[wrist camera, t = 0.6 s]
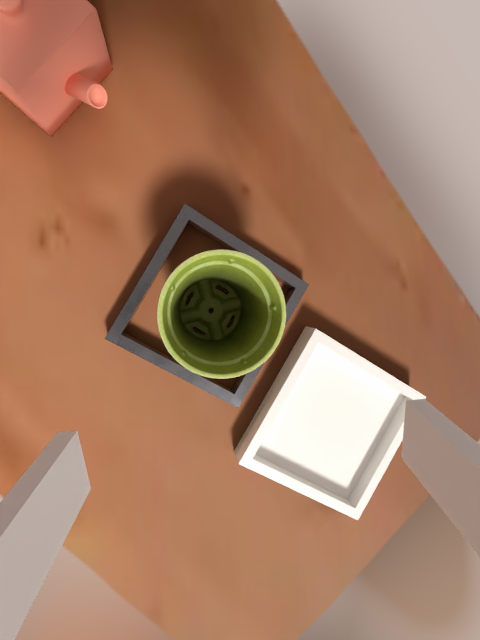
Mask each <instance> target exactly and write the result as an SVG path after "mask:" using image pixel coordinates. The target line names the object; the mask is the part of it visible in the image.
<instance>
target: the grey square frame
mask: <svg viewBox="0 0 480 640" xmlns="http://www.w3.org/2000/svg"><path fill="white" fill-rule="evenodd" d="M188 223H189V224H191V225H192V226H194V227H196V228H197V229H199V230H200V231H202V232H203V233H205V234H207V235H208V236H210V237H211V238H213V239H214V240H216V241H217V242H219V243H221V244H222V245H224V246H225V247H227V248H228V249H230V250H233V251H238V252H241V253H244V254H247V255H249V256H251V257H253V258H255V259H256V260H258V261H259V262H261V263H262V264H263V265H265V266H266V267H267V268H268V269H269V270H270V271H271V273H272V274H273V275H274V276H275V278H276V279H277V280H278V281H280V282H282V283H283V284H285V285H286V286H288V287H289V288H290V290H289V292H288V293H287V295H286V297H285V305H286V322H285V325H286V324H287V322H288V320H289V318H290V317H291V315H292V313H293V312H294V310H295V308H296V306H297V305H298V303H299V301H300V299H301V298H302V296H303V294H304V292H305V291H306V289H307V287H308V285H309V284H307V283H306V282H304V281H303V280H301V279H300V278H298V277H297V276H295V275H294V274H292V273H291V272H289V271H288V270H286V269H285V268H283V267H281V266H280V265H278V264H277V263H275V262H274V261H272V260H271V259H269V258H268V257H266V256H265V255H263V254H262V253H260V252H258V251H257V250H255V249H254V248H252V247H251V246H249V245H248V244H246V243H245V242H243V241H242V240H240V239H239V238H237V237H235V236H234V235H232V234H231V233H229V232H228V231H226V230H225V229H223V228H222V227H220V226H219V225H217V224H216V223H214V222H213V221H211V220H209V219H208V218H206V217H205V216H203V215H202V214H200V213H199V212H197V211H196V210H194V209H193V208H191V207H190V206H188V205H186V204H184V206H183V208H182V209H181V211H180V213H179V214H178V216H177V218H176V219H175V221H174V223H173V224H172V226H171V228H170V229H169V231H168V233H167V235H166V236H165V238H164V240H163V241H162V243H161V245H160V246H159V248H158V250H157V251H156V253H155V255H154V256H153V258H152V260H151V261H150V263H149V265H148V267H147V268H146V270H145V272H144V273H143V275H142V277H141V278H140V280H139V282H138V283H137V285H136V287H135V288H134V290H133V292H132V293H131V295H130V297H129V299H128V300H127V302H126V304H125V305H124V307H123V309H122V310H121V312H120V314H119V315H118V317H117V319H116V320H115V322H114V324H113V326H112V327H111V329H110V331H109V332H108V334H107V336H106V337H105V339H106V340H108V341H110V342H112V343H114V344H116V345H118V346H120V347H122V348H124V349H126V350H128V351H129V352H131V353H133V354H135V355H137V356H139V357H141V358H143V359H145V360H147V361H149V362H151V363H153V364H155V365H156V366H158V367H160V368H162V369H164V370H166V371H168V372H170V373H172V374H174V375H176V376H178V377H180V378H182V379H184V380H185V381H187V382H189V383H191V384H193V385H195V386H197V387H199V388H201V389H203V390H205V391H207V392H209V393H211V394H212V395H214V396H216V397H218V398H220V399H222V400H224V401H226V402H228V403H230V404H232V405H234V406H236V407H239V406H240V404H241V402H242V400H243V399H244V397H245V395H246V393H247V392H248V390H249V388H250V386H251V385H252V383H253V381H254V379H255V378H256V376H257V374H258V372H259V371H260V369H261V367H262V365H263V364H264V363H263V364H261V365H260V366H259V367H257V368H256V369H254V370H253V371H251V372H249V373H247V374H244V375H241V376H240V377H239V378H238V380H237V382H236V384H235V385H234V387H233V389H232V390H231V389H229V388H228V387H226V386H224V385H222V384H220V383H218V382H216V381H214V380H212V379H211V378H208V377H204V376H201V375H198V374H196V373H193V372H191V371H190V370H188V369H186V368H185V367H183V366H182V365H181V364H180V363H178V362H177V361H176V360H175V359H173V358H171V357H169V356H167V355H165V354H163V353H162V352H160V351H158V350H156V349H154V348H152V347H150V346H148V345H146V344H145V343H143V342H141V341H139V340H137V339H135V338H133V337H131V336H129V335H128V334H126V333H124V331H125V329H126V327H127V326H128V324H129V322H130V321H131V319H132V317H133V315H134V314H135V312H136V310H137V309H138V307H139V305H140V304H141V302H142V300H143V299H144V297H145V295H146V294H147V292H148V290H149V288H150V287H151V285H152V283H153V282H154V280H155V278H156V277H157V275H158V273H159V272H160V270H161V268H162V266H163V265H164V263H165V261H166V260H167V258H168V256H169V255H170V253H171V251H172V250H173V248H174V246H175V245H176V243H177V241H178V239H179V238H180V236H181V234H182V233H183V231H184V229H185V228H186V226H187V224H188Z"/></svg>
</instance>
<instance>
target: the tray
mask: <svg viewBox="0 0 480 640" xmlns="http://www.w3.org/2000/svg"><path fill="white" fill-rule="evenodd" d="M425 398H426V396H424V395H422V394H421V393H419V392H418V391H416V390H414V389H413V388H411V387H409V386H408V385H406V384H405V383H403V382H401V381H400V380H398V379H397V378H395V377H393V376H392V375H390V374H388V373H387V372H385V371H384V370H382V369H380V368H379V367H377V366H376V365H374V364H372V363H371V362H369V361H368V360H366V359H364V358H363V357H361V356H359V355H358V354H356V353H355V352H353V351H351V350H350V349H348V348H347V347H345V346H343V345H342V344H340V343H338V342H337V341H335V340H334V339H332V338H330V337H329V336H327V335H326V334H324V333H322V332H321V331H319V330H317V329H316V328H312V327H308V326H305V328H304V330H303V331H302V333H301V335H300V337H299V338H298V340H297V342H296V344H295V345H294V347H293V349H292V351H291V352H290V354H289V356H288V358H287V359H286V361H285V363H284V365H283V366H282V368H281V370H280V372H279V373H278V375H277V377H276V379H275V380H274V382H273V384H272V386H271V387H270V389H269V391H268V393H267V394H266V396H265V398H264V400H263V401H262V403H261V405H260V407H259V408H258V410H257V412H256V413H255V415H254V417H253V419H252V420H251V422H250V424H249V426H248V427H247V429H246V431H245V433H244V434H243V436H242V438H241V440H240V441H239V443H238V445H237V447H236V448H235V450H234V453H235V455H236V458H237V461H238V463H239V464H240V465H242V466H244V467H246V468H249V469H251V470H253V471H255V472H257V473H259V474H261V475H263V476H265V477H268V478H270V479H272V480H274V481H276V482H278V483H280V484H282V485H284V486H287V487H289V488H291V489H293V490H295V491H297V492H299V493H301V494H303V495H306V496H308V497H310V498H312V499H314V500H316V501H318V502H320V503H322V504H325V505H327V506H329V507H331V508H333V509H335V510H337V511H339V512H341V513H344V514H346V515H348V516H350V517H352V518H354V519H356V520H358V519H359V517H360V516H361V514H362V512H363V510H364V508H365V507H366V505H367V503H368V501H369V499H370V498H371V496H372V494H373V492H374V490H375V488H376V487H377V485H378V483H379V481H380V479H381V478H382V476H383V474H384V472H385V470H386V469H387V467H388V465H389V463H390V461H391V460H392V458H393V456H394V454H395V452H396V451H397V449H398V447H399V445H400V443H401V442H402V440H403V430H404V418H405V405H406V400H417V399H425Z"/></svg>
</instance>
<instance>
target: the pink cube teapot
mask: <svg viewBox="0 0 480 640" xmlns="http://www.w3.org/2000/svg"><path fill="white" fill-rule="evenodd" d="M112 70H113V68H112V64H111V61H110V57H109V53H108V50H107V46H106V42H105V39H104V35H103V31H102V28H101V24H100V20H99V17H98V13H97V9H96V8H95V7H94V6H93V5H92V4H91V3H90V2H89V1H88V0H0V93H1V94H2V95H3V96H5V97H6V98H7V99H8V100H9V101H10V102H12V103H13V104H14V105H15V106H16V107H17V108H18V109H20V110H21V111H22V112H23V113H24V114H25V115H27V116H28V117H29V118H30V119H31V120H32V121H34V122H35V123H36V124H37V125H38V126H39V127H41V128H42V129H43V130H44V131H45V132H46V133H47V134H49V135H50V136H52V135H53V134H54V133H55V132H56V131H57V130H58V129H59V128H60V127H61V125H62V124H63V123H64V122H65V121H66V120H67V119H68V118H69V117H70V116H71V115H72V114H73V112H74V111H75V110H76V109H77V108H78V107H79V106H80V105H81V104H82V103H83V102H85V103H87V104H89V105H91V106H93V107H95V108H98V109H101V108H103V107H104V106H105V105H106V103H107V99H108V97H107V93H106V90H105V89H104V88H103V87H102V86H101V85H99V84H100V83H101V82H102V81H103V80H104V78H105V77H106V76H107V75H108V74H109V73H110V72H111V71H112Z"/></svg>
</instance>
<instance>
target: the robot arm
mask: <svg viewBox="0 0 480 640" xmlns="http://www.w3.org/2000/svg"><path fill="white" fill-rule="evenodd" d="M401 458H402V460H403V461H404V462H405V463H406V465H407V466H408V467H409V468H410V470H411V471H412V472H413V473H414V475H415V476H416V477H417V478H418V480H419V481H420V482H421V483H422V485H423V486H424V487H425V489H426V490H427V491H428V492H429V494H430V495H431V496H432V497H433V499H434V500H435V501H436V502H437V504H438V505H439V506H440V507H441V509H442V510H443V511H444V512H445V514H446V515H447V516H448V518H449V519H450V520H451V521H452V522H453V524H454V525H455V526H456V528H457V529H458V530H459V531H460V533H461V534H462V535H463V536H464V538H465V539H466V540H467V541H468V543H469V544H470V545H471V546H472V548H473V549H474V550H475V552H476V553H477V554H478V555H479V556H480V445H479V444H478V443H477V442H476V441H475V440H474V439H472V438H471V437H470V436H469V435H468V434H466V433H465V432H464V431H463V430H461V429H460V428H459V427H458V426H457V425H455V424H454V423H453V422H452V421H451V420H449V419H448V418H447V417H446V416H445V415H443V414H442V413H441V412H440V411H438V410H437V409H436V408H435V407H434V406H432V405H431V404H430V403H429V402H428V401H426V400H425V399H417V400H406V405H405V418H404V430H403V443H402V456H401ZM90 489H91V487H90V483H89V478H88V474H87V470H86V466H85V462H84V457H83V453H82V449H81V445H80V441H79V436H78V432H77V431H70V432H60V433H57V434H56V435H55V436H54V437H53V439H52V440H51V441H50V442H49V443H48V445H47V446H46V447H45V448H44V450H43V451H42V452H41V453H40V454H39V456H38V457H37V458H36V459H35V461H34V462H33V463H32V464H31V466H30V467H29V468H28V469H27V470H26V472H25V473H24V474H23V475H22V477H21V478H20V479H19V480H18V481H17V483H16V484H15V485H14V486H13V488H12V489H11V490H10V491H9V493H8V494H7V495H6V496H5V497H4V499H3V500H2V501H1V502H0V640H14V639H15V637H16V635H17V633H18V631H19V629H20V628H21V626H22V623H23V621H24V620H25V618H26V615H27V614H28V612H29V610H30V608H31V606H32V604H33V602H34V600H35V598H36V596H37V593H38V592H39V590H40V588H41V586H42V584H43V582H44V580H45V578H46V576H47V574H48V572H49V570H50V568H51V566H52V564H53V562H54V560H55V558H56V556H57V555H58V553H59V551H60V549H61V547H62V545H63V543H64V541H65V539H66V537H67V535H68V533H69V531H70V529H71V527H72V525H73V523H74V521H75V519H76V517H77V515H78V513H79V511H80V509H81V507H82V505H83V503H84V501H85V499H86V497H87V495H88V493H89V491H90Z"/></svg>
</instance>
